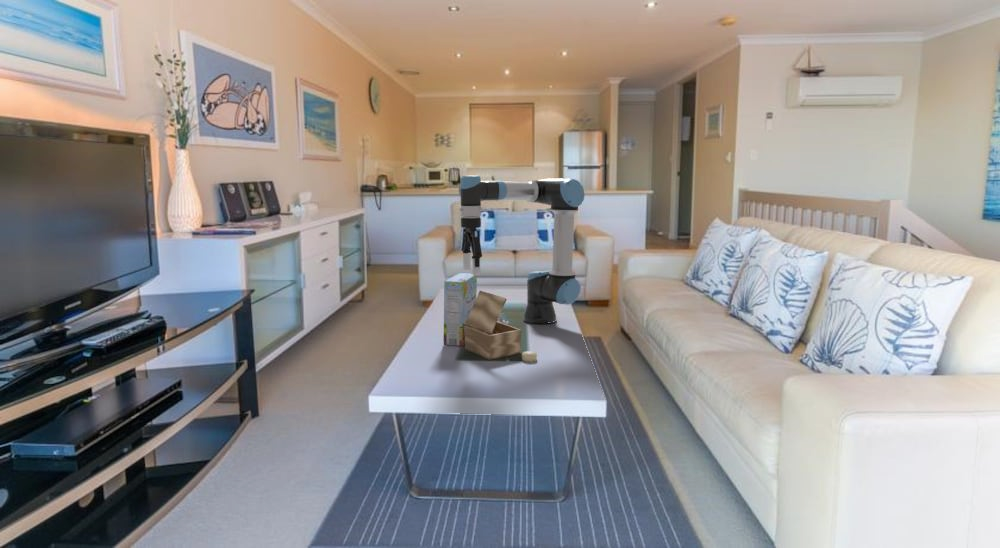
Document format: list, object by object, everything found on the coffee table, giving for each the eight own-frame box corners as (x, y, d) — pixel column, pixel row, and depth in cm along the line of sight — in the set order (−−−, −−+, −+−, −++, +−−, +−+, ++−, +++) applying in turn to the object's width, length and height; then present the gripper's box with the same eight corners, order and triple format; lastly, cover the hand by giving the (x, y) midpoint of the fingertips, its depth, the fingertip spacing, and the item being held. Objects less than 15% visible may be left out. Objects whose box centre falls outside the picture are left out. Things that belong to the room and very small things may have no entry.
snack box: (464, 347, 221) (464, 282, 216) (442, 345, 222) (442, 281, 218) (477, 332, 242) (477, 272, 237) (457, 331, 243) (457, 272, 239)
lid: (490, 335, 204) (489, 334, 203) (465, 325, 217) (464, 325, 217) (507, 298, 206) (505, 298, 205) (481, 291, 219) (479, 290, 219)
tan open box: (496, 342, 226) (496, 321, 225) (520, 352, 214) (521, 329, 212) (465, 349, 218) (465, 326, 216) (489, 360, 205) (489, 335, 204)
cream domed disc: (530, 356, 210) (530, 350, 209) (539, 360, 205) (539, 353, 205) (519, 359, 207) (519, 352, 206) (528, 363, 202) (528, 356, 202)
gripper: (453, 215, 225) (454, 268, 229) (470, 219, 202) (470, 278, 205) (471, 214, 227) (472, 266, 231) (490, 219, 204) (490, 277, 208)
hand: (471, 272), depth 218 cm, fingers open, 13 cm apart
